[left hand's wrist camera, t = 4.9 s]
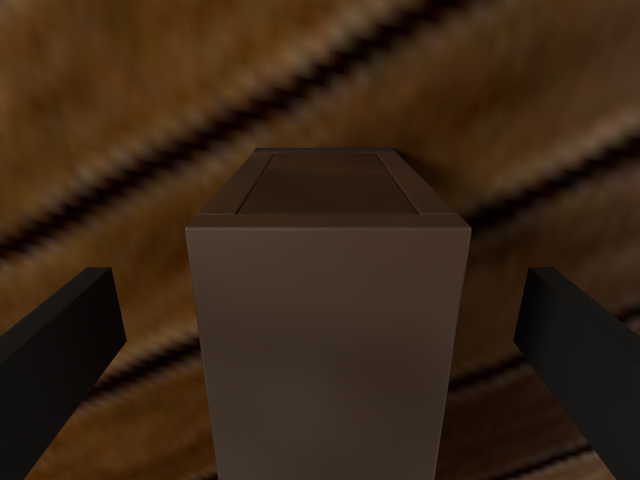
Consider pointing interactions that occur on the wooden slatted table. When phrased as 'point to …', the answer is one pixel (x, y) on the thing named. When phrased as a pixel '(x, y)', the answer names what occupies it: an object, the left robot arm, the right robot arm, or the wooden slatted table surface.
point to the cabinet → (327, 315)
